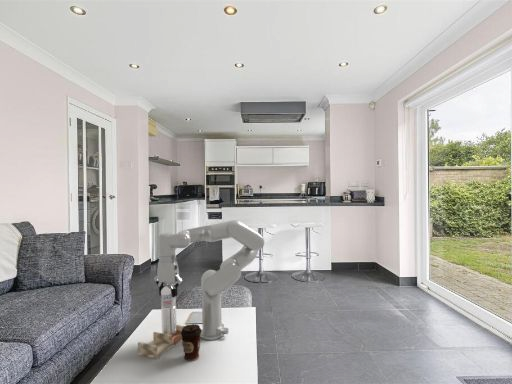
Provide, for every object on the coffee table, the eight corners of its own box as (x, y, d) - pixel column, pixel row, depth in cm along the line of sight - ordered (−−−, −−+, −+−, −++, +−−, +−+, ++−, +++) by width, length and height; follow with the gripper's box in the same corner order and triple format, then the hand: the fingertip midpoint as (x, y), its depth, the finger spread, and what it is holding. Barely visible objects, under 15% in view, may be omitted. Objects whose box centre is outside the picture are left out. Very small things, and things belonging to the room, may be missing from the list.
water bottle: (179, 330, 141) (178, 279, 141) (171, 337, 135) (169, 283, 135) (167, 328, 144) (166, 278, 144) (159, 335, 137) (157, 282, 137)
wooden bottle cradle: (186, 336, 142) (185, 326, 142) (157, 359, 123) (157, 347, 123) (168, 333, 146) (167, 323, 146) (138, 354, 127) (137, 342, 127)
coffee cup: (191, 365, 118) (190, 333, 118) (177, 360, 122) (176, 329, 122) (205, 355, 125) (205, 325, 125) (191, 350, 129) (191, 321, 129)
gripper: (186, 258, 140) (188, 294, 140) (158, 256, 146) (159, 291, 146) (177, 261, 133) (178, 300, 133) (147, 259, 139) (148, 296, 139)
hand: (168, 295), depth 139 cm, fingers closed on water bottle, 6 cm apart
